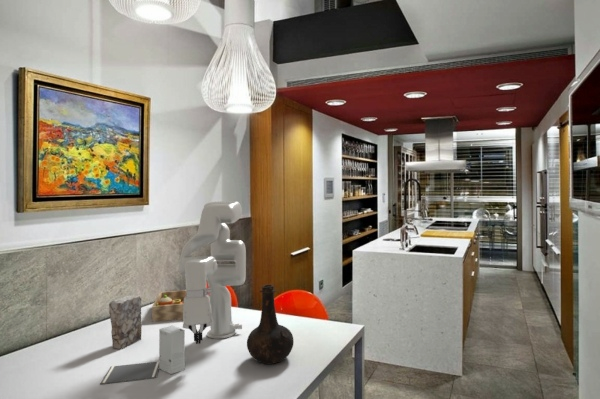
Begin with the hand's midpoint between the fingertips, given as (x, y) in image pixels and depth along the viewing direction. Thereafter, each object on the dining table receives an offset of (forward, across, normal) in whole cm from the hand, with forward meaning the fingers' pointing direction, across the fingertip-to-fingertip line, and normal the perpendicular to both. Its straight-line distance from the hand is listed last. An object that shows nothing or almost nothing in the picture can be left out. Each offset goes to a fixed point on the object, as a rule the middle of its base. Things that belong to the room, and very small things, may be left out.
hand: (198, 342), depth 152 cm
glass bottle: (+9, -26, +1) cm, 28 cm away
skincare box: (+9, +10, 0) cm, 13 cm away
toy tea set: (+8, +14, -79) cm, 81 cm away
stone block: (+9, +32, -33) cm, 47 cm away
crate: (+8, +14, -79) cm, 81 cm away
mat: (+9, +24, -1) cm, 25 cm away
